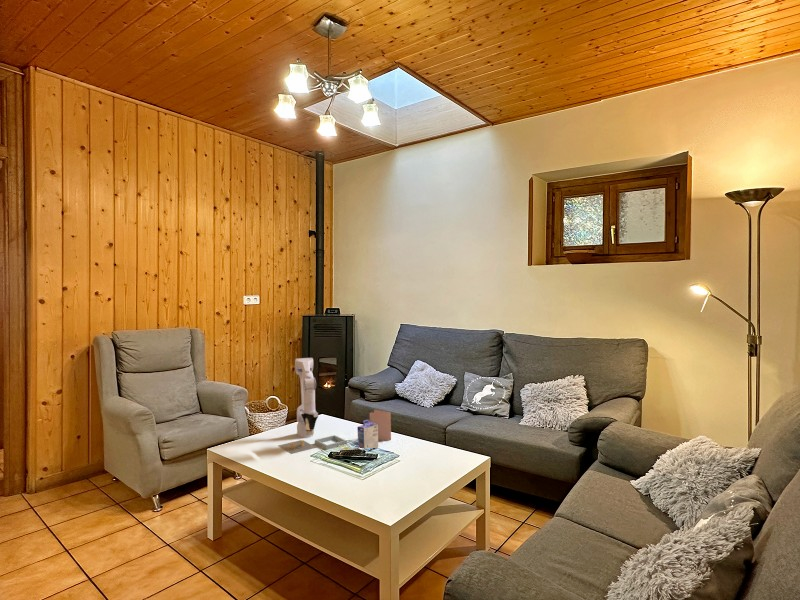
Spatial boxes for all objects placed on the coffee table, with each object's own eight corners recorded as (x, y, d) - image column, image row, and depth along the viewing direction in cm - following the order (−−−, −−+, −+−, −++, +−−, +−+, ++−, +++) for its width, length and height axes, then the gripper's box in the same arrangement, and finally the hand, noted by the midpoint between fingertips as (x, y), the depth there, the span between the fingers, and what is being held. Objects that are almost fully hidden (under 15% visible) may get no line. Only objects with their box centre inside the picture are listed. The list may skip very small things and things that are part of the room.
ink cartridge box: (371, 445, 237) (371, 417, 237) (378, 447, 233) (378, 419, 233) (357, 450, 230) (356, 421, 230) (364, 452, 226) (364, 423, 226)
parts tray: (314, 446, 236) (314, 439, 236) (334, 441, 243) (334, 435, 243) (326, 452, 227) (326, 445, 227) (346, 447, 234) (346, 440, 234)
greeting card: (391, 439, 246) (391, 412, 245) (383, 443, 240) (383, 415, 239) (375, 436, 252) (375, 409, 252) (366, 439, 246) (366, 412, 246)
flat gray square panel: (277, 448, 234) (277, 440, 234) (302, 442, 242) (302, 435, 242) (291, 456, 221) (291, 448, 221) (317, 450, 230) (316, 442, 230)
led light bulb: (304, 433, 233) (304, 418, 233) (311, 432, 236) (311, 416, 236) (307, 435, 230) (307, 419, 230) (315, 434, 232) (314, 418, 232)
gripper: (296, 400, 236) (296, 426, 236) (308, 405, 224) (309, 433, 225) (308, 398, 240) (308, 424, 240) (321, 403, 229) (321, 430, 229)
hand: (309, 428), depth 233 cm, fingers closed on led light bulb, 4 cm apart
